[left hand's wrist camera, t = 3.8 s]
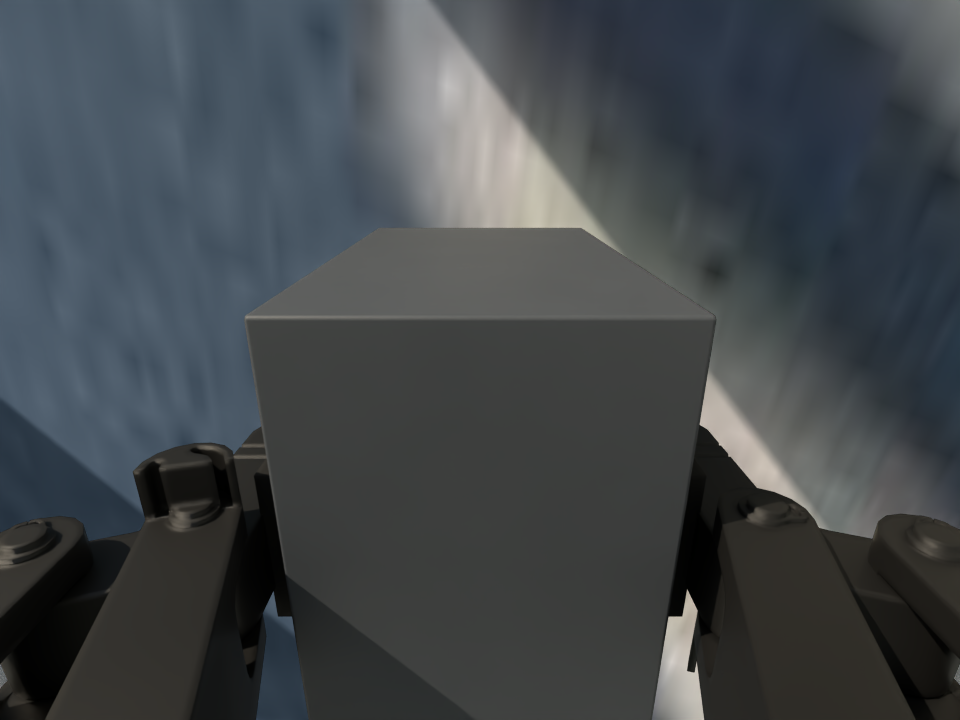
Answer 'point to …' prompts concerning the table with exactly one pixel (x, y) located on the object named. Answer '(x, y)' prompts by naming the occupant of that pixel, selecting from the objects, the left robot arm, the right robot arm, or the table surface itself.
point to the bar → (480, 472)
